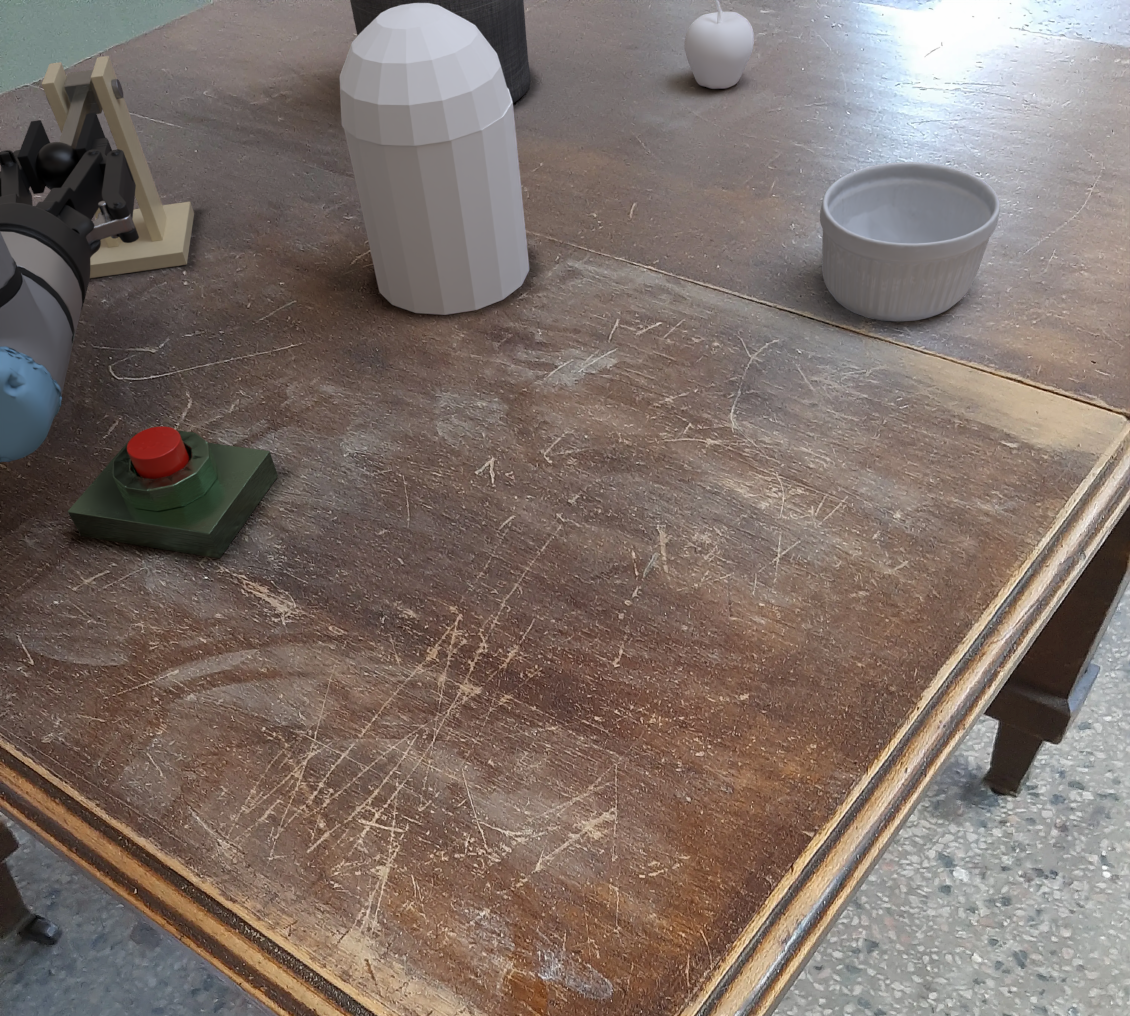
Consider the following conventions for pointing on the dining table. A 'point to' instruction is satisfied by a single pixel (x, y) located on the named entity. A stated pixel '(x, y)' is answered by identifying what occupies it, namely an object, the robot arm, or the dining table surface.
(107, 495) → the green switch base
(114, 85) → the pendulum stand
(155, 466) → the button
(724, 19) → the plain white apple
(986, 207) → the ramekin
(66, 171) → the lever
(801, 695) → the dining table surface
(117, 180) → the robot arm
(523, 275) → the container
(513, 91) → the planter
